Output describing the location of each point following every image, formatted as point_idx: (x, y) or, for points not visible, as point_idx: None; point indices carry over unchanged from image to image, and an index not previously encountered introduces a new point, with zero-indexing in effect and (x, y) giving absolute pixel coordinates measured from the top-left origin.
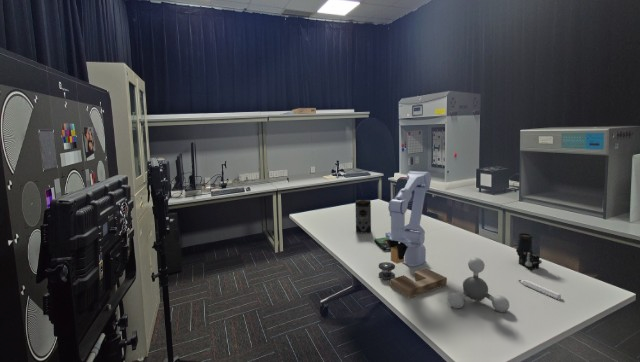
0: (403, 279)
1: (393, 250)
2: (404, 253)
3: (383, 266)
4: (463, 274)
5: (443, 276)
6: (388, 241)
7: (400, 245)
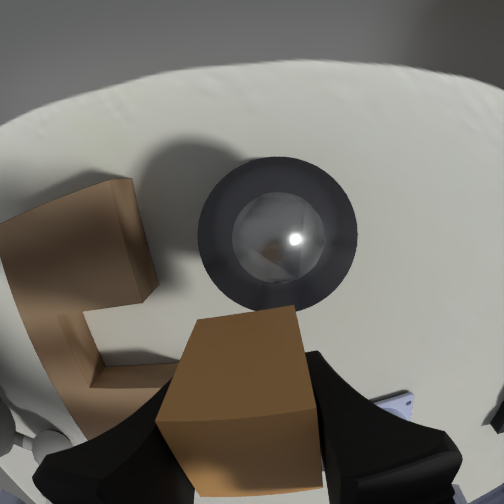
0: (87, 265)
1: (240, 397)
2: None
3: (268, 197)
4: None
5: None
6: (381, 473)
7: (35, 484)
